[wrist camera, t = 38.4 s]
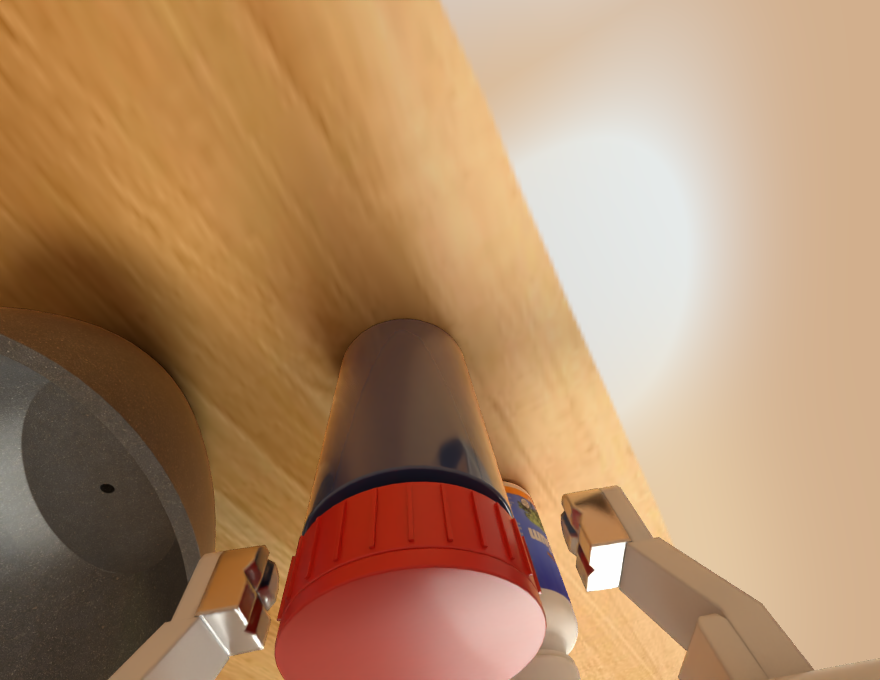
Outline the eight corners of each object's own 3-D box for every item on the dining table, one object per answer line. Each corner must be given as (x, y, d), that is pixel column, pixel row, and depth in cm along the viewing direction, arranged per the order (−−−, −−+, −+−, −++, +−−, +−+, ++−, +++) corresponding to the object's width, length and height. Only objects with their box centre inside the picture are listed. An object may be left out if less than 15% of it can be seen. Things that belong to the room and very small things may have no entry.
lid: (520, 459, 9) (551, 540, 7) (525, 605, 12) (548, 689, 10) (260, 503, 9) (225, 597, 7) (327, 640, 12) (315, 733, 10)
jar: (355, 432, 20) (321, 694, 11) (326, 328, 17) (245, 560, 8) (470, 414, 20) (536, 655, 11) (459, 309, 18) (535, 510, 8)
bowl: (263, 276, 16) (194, 349, 10) (252, 598, 25) (212, 726, 20) (-106, 210, 14) (-446, 260, 8) (32, 592, 23) (-82, 735, 17)
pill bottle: (537, 525, 25) (611, 727, 17) (456, 547, 25) (488, 757, 17) (524, 466, 23) (604, 668, 14) (434, 491, 23) (458, 705, 14)
